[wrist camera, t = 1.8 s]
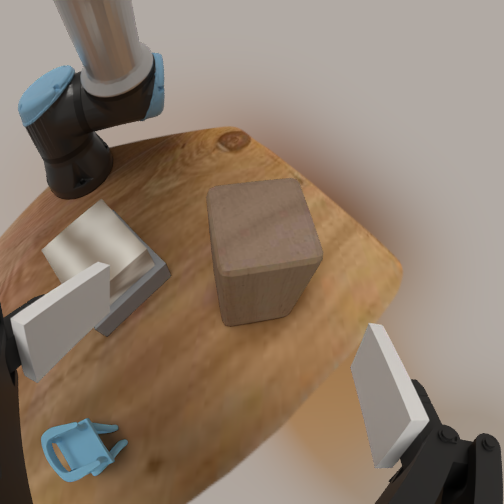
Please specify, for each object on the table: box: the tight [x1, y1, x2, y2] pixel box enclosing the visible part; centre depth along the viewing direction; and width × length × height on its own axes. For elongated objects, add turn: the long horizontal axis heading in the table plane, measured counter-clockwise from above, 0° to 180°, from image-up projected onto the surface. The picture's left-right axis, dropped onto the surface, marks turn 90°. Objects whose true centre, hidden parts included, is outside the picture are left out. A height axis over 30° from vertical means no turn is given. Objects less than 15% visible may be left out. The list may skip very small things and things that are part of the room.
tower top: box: [42, 199, 155, 305], centre depth 40 cm, size 12×12×5 cm
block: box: [206, 178, 323, 326], centre depth 38 cm, size 10×10×20 cm
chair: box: [41, 418, 128, 482], centre depth 29 cm, size 8×8×12 cm
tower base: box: [94, 210, 171, 337], centre depth 44 cm, size 14×14×5 cm
